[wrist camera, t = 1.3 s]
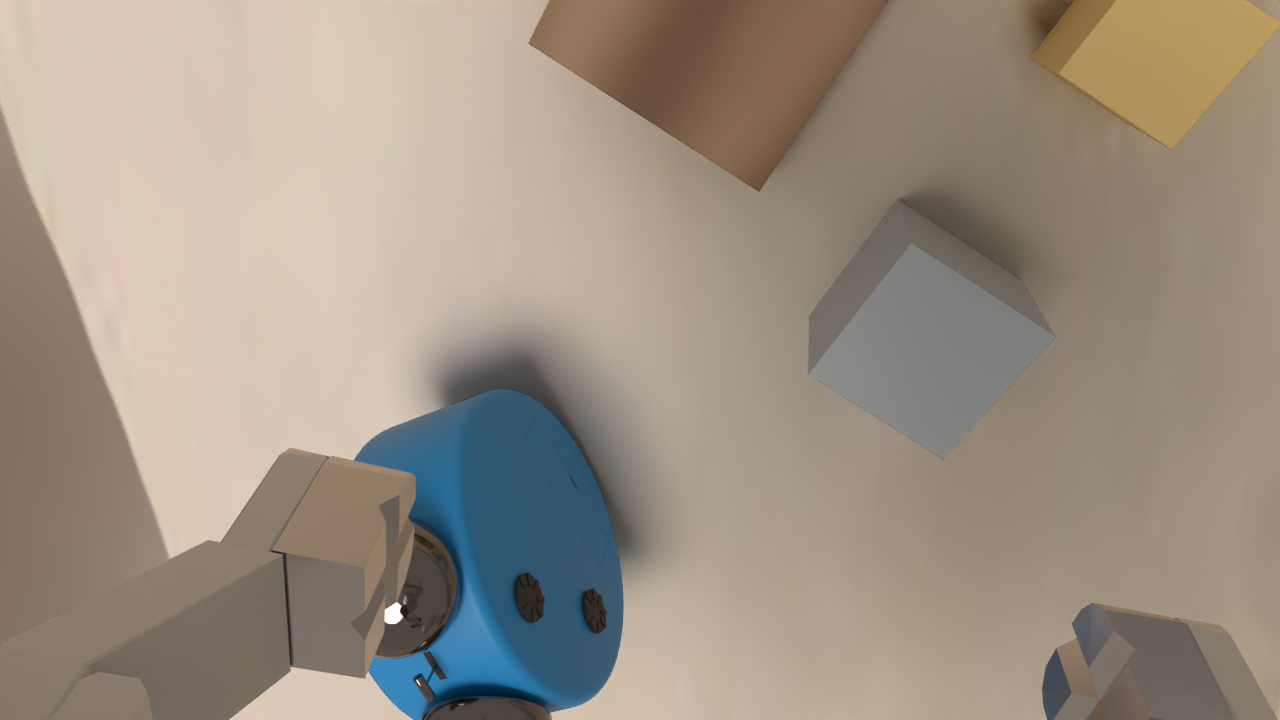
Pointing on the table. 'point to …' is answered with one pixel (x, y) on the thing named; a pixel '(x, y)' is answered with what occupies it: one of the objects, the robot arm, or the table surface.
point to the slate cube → (924, 331)
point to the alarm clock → (498, 566)
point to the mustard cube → (1154, 56)
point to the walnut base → (712, 66)
